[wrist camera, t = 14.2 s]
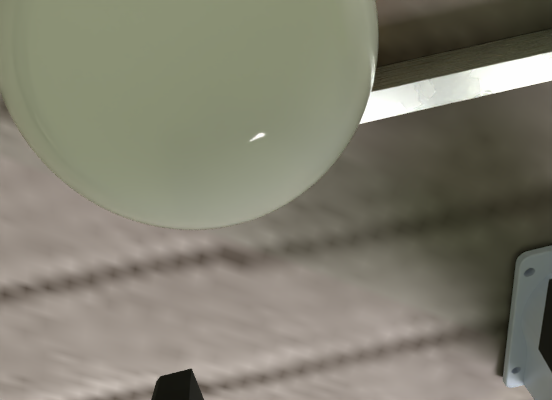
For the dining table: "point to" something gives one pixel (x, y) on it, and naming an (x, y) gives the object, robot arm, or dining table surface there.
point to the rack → (460, 75)
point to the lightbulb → (188, 99)
